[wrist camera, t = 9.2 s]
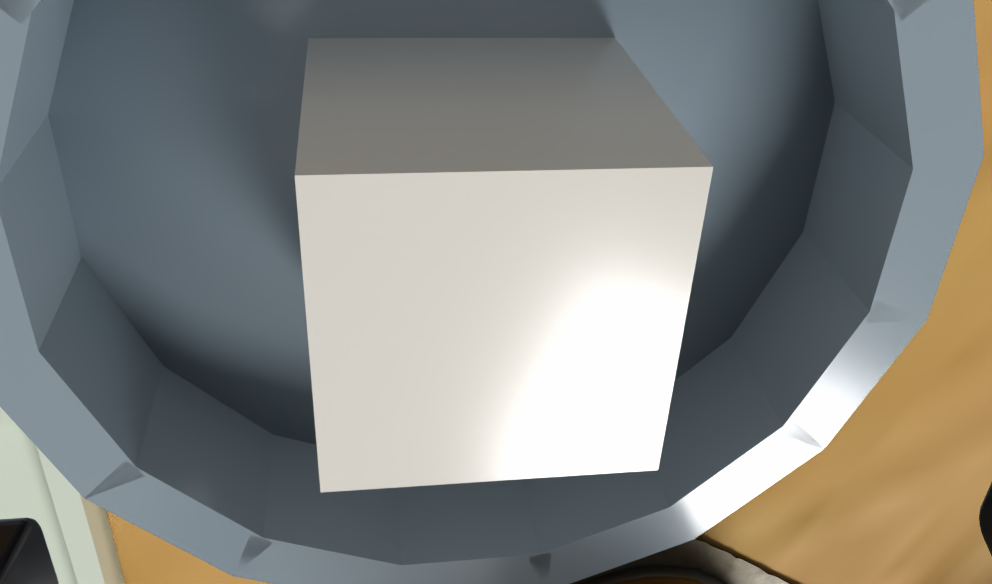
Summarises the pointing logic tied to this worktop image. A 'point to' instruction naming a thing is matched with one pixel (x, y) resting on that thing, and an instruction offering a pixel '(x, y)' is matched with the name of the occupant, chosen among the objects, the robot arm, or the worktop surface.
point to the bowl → (280, 290)
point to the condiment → (685, 568)
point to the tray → (55, 511)
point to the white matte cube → (491, 258)
